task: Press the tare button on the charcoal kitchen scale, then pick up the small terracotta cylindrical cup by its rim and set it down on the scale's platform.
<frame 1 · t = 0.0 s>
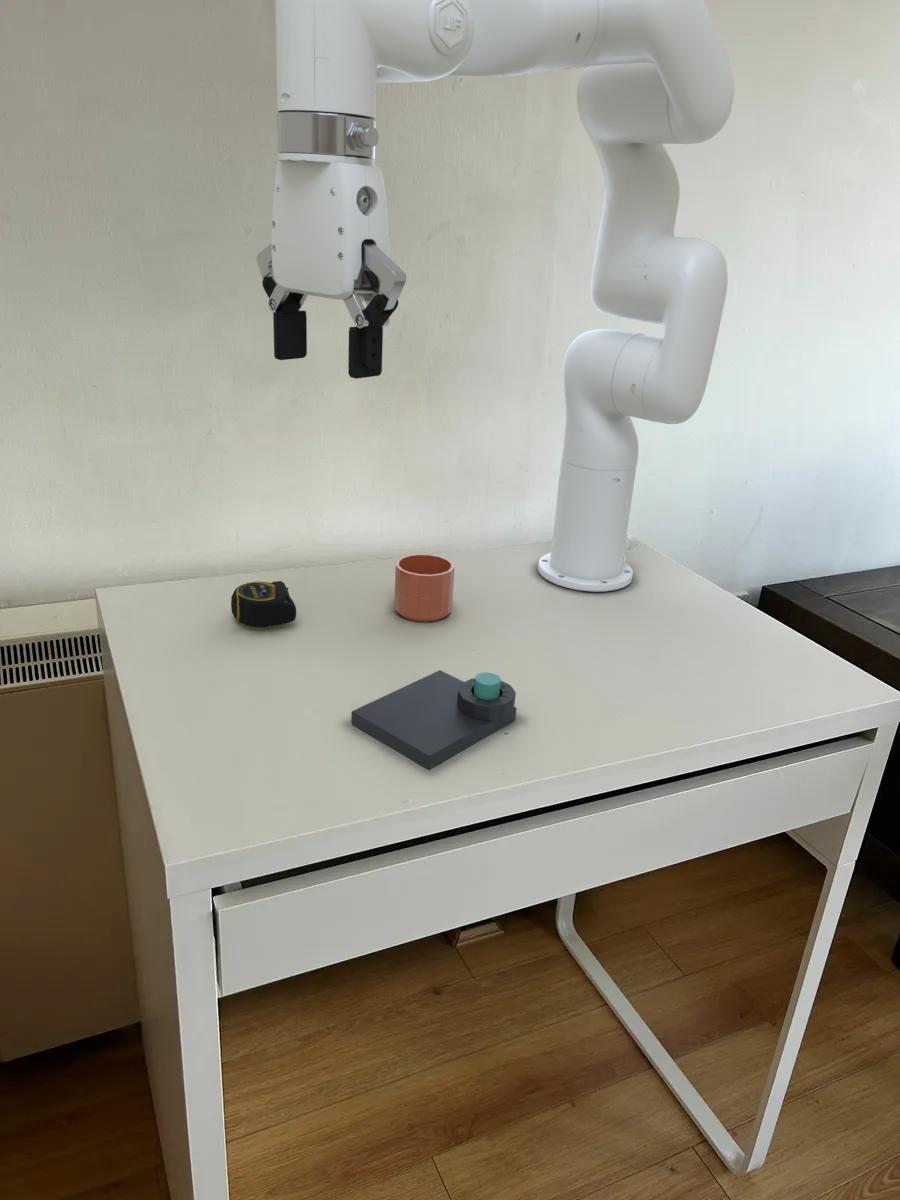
hand: (326, 367, 77), 31 cm above the table, tool pointing down, fingers open, 9 cm apart
scale: (434, 722, 85), on the table
tape measure: (268, 620, 103), on the table
terracotta cylindrical cup: (422, 611, 107), on the table
tare button: (487, 686, 84), point 4 cm above the table, slide at 0.1 cm
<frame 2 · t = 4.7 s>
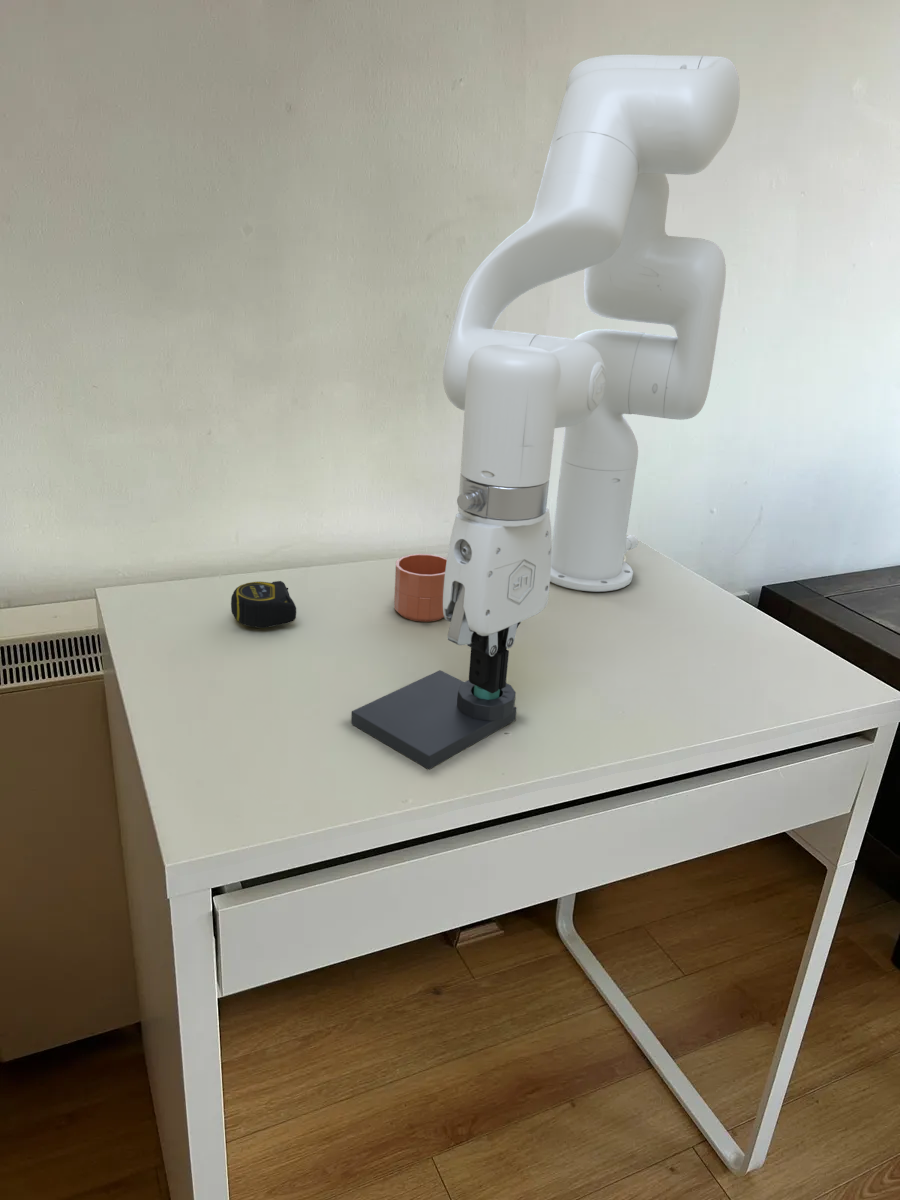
hand: (486, 684, 84), 4 cm above the table, tool pointing down, fingers closed
tare button: (486, 692, 84), point 3 cm above the table, slide at -0.5 cm, touching gripper
everything else where it was.
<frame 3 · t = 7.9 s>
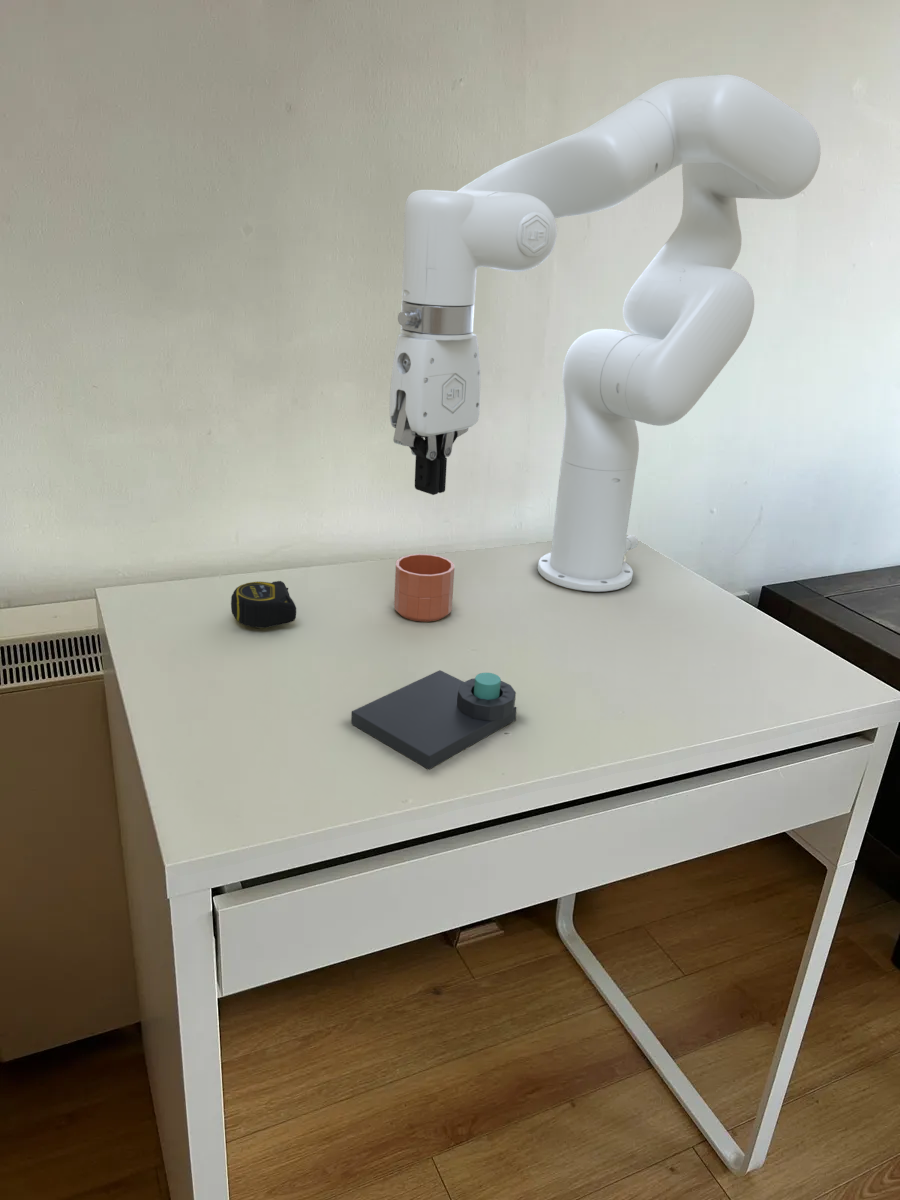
hand: (429, 490, 101), 15 cm above the table, tool pointing down, fingers closed
tare button: (487, 686, 84), point 3 cm above the table, slide at 0.1 cm
everything else where it was.
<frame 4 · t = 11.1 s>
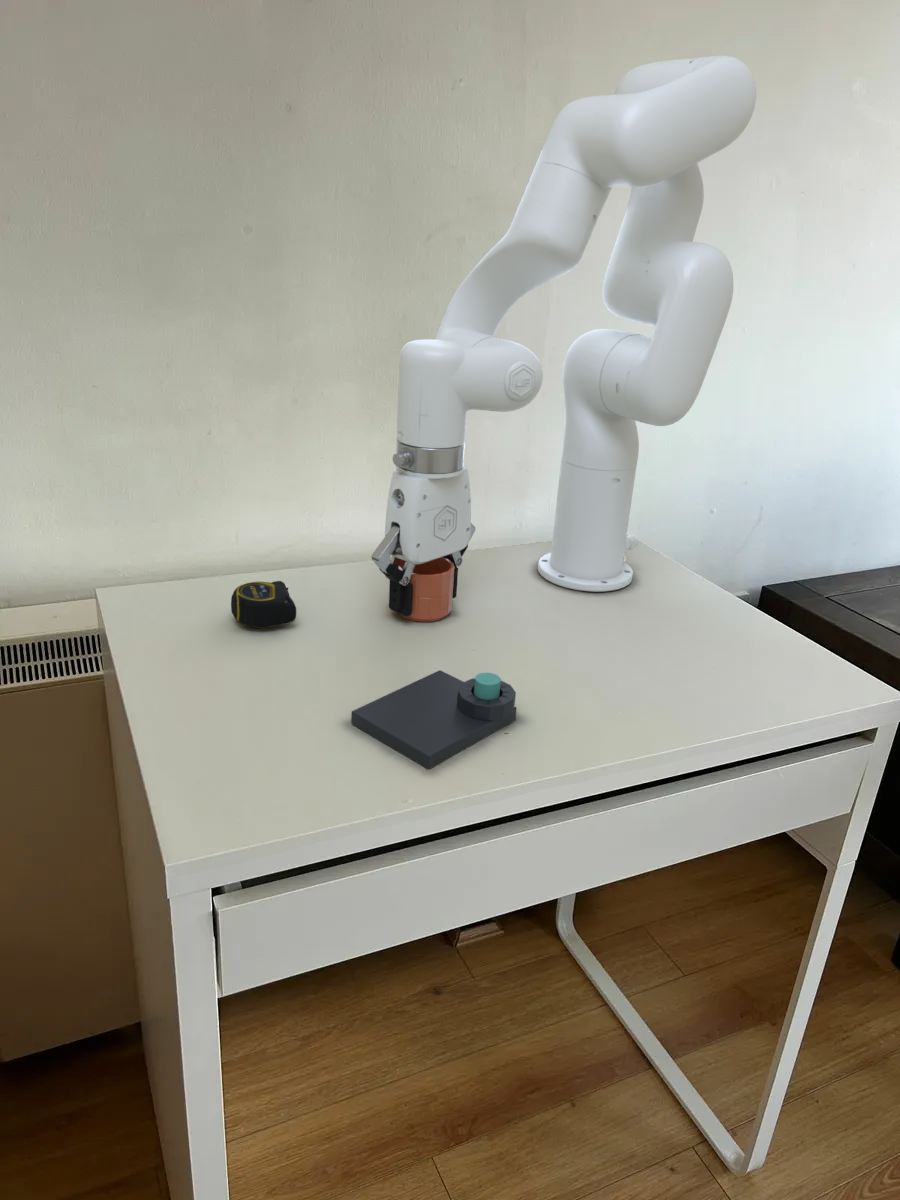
hand: (423, 602, 107), 1 cm above the table, tool pointing down, fingers closed on terracotta cylindrical cup, 6 cm apart
terracotta cylindrical cup: (422, 611, 107), on the table, touching gripper
everything else where it was.
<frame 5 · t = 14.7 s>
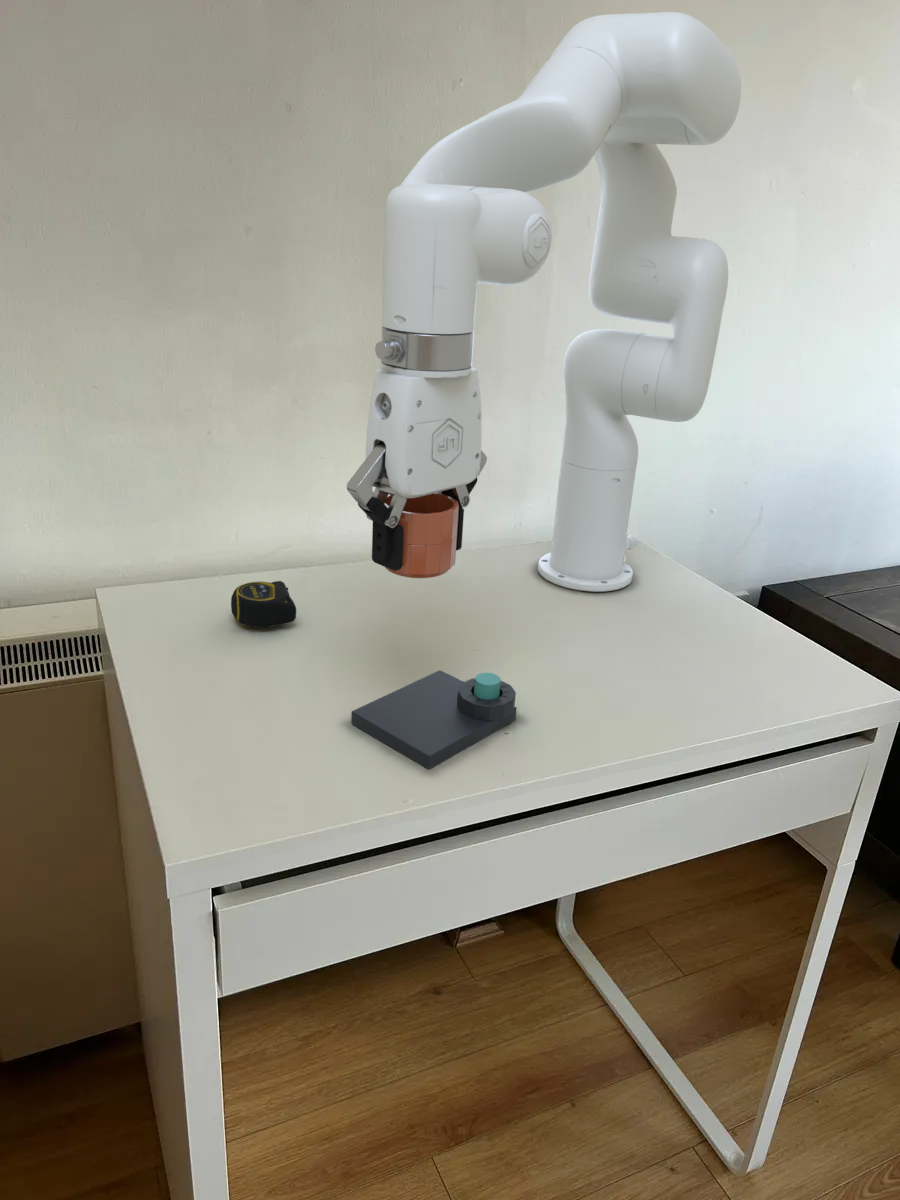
hand: (417, 554, 81), 16 cm above the table, tool pointing down, fingers closed on terracotta cylindrical cup, 6 cm apart
terracotta cylindrical cup: (416, 565, 81), point 15 cm above the table, touching gripper
everything else where it was.
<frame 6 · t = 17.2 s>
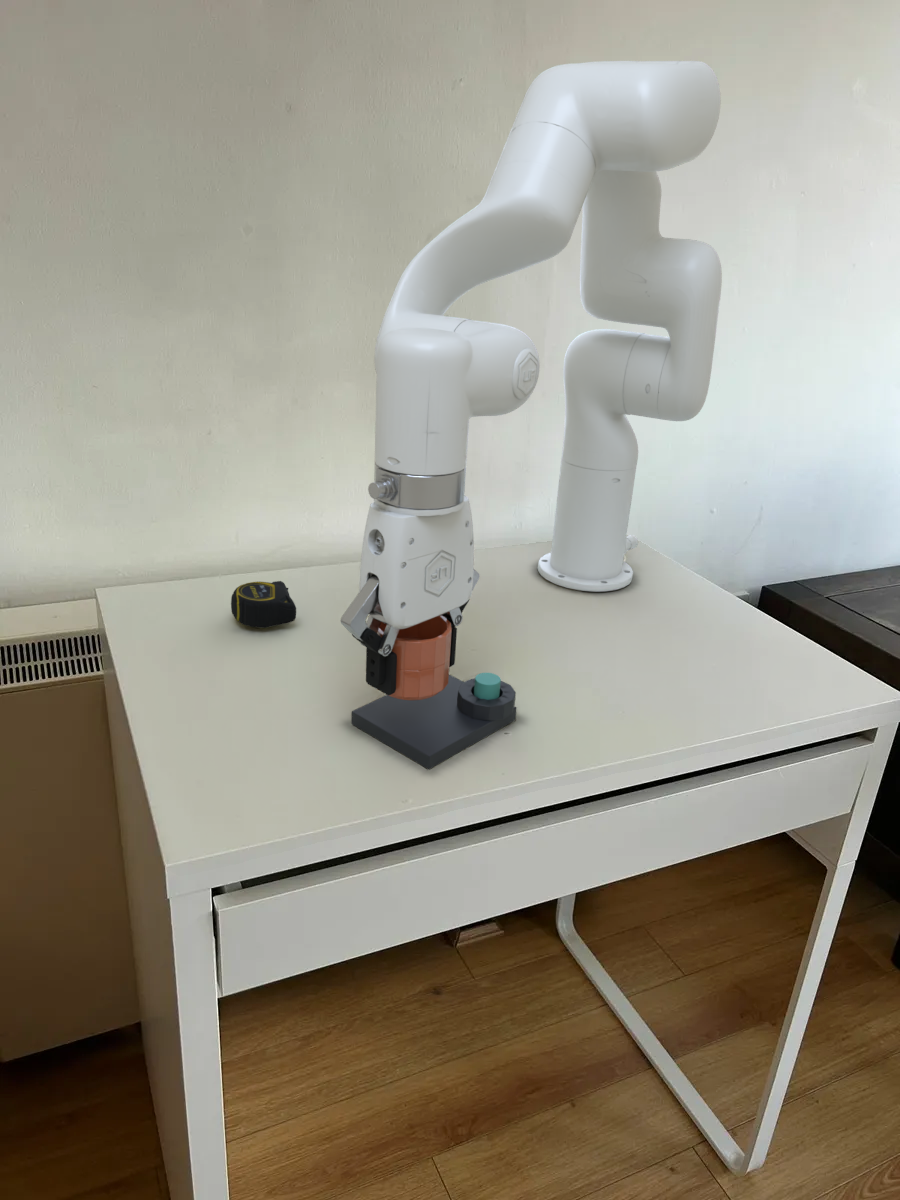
hand: (411, 673, 82), 6 cm above the table, tool pointing down, fingers closed on terracotta cylindrical cup, 6 cm apart
terracotta cylindrical cup: (410, 684, 82), point 4 cm above the table, touching gripper
everything else where it was.
when the fingers open (3 cm above the table, at t = 18.7 s): terracotta cylindrical cup stays where it is, resting on scale.
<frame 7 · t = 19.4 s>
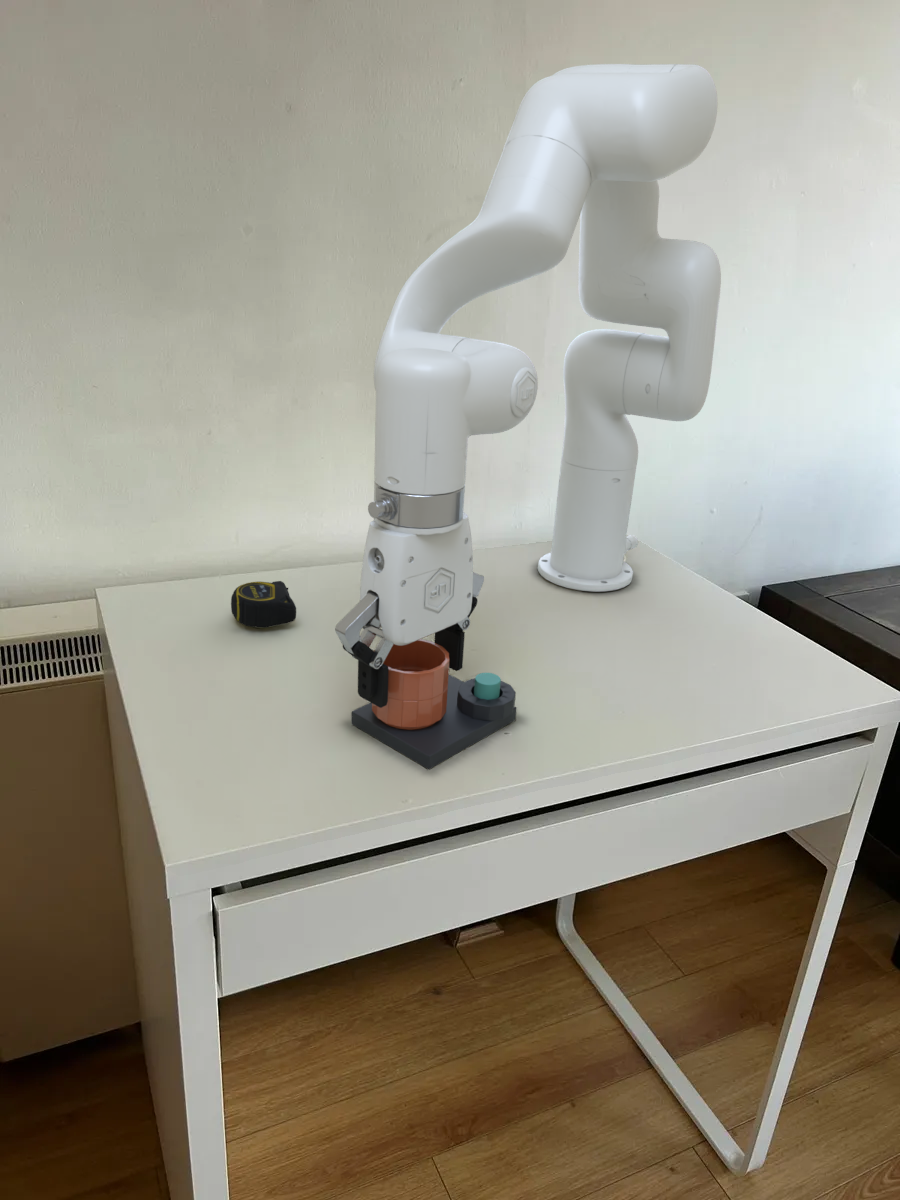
hand: (411, 682, 82), 5 cm above the table, tool pointing down, fingers open, 9 cm apart
terracotta cylindrical cup: (408, 712, 83), point 1 cm above the table, touching scale
everything else where it was.
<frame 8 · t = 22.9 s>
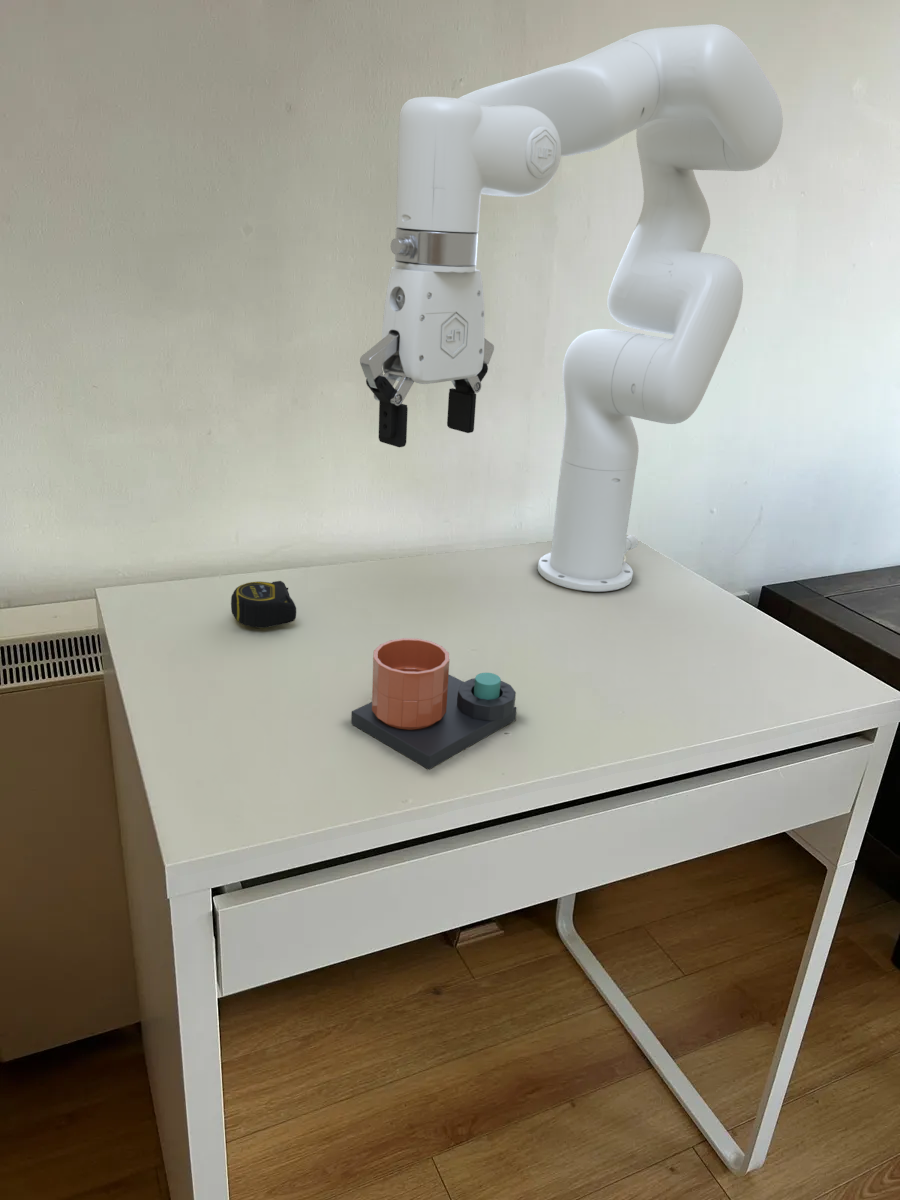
hand: (427, 436, 89), 23 cm above the table, tool pointing down, fingers open, 9 cm apart
nothing on the table moved.
at the end: tare button pushed in 0.9 cm at the most during the clip, back to where it started at the end; terracotta cylindrical cup inside the target area on the scale (0.4 cm from its centre), point 1.4 cm above the scale's base; terracotta cylindrical cup touching scale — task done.
